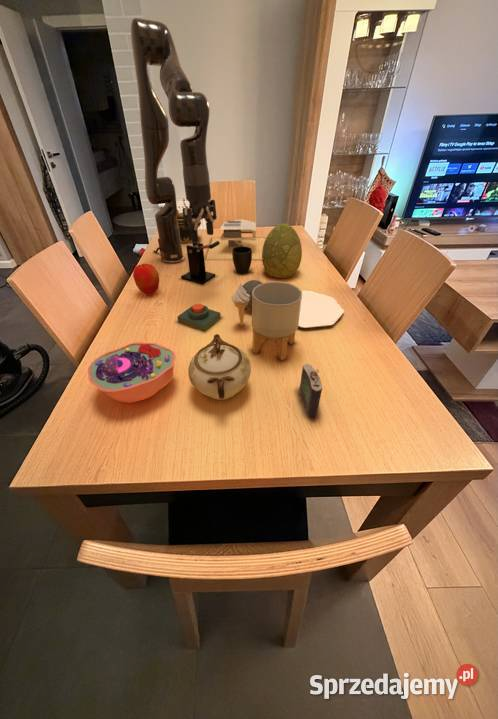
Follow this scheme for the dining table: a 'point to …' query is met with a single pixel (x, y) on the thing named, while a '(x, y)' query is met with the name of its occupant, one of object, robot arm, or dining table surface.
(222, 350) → the sugar bowl
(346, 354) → the dining table surface
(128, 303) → the dining table surface
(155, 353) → the cell model
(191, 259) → the bracket
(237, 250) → the mug
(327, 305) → the plate
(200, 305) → the button
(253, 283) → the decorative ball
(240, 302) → the ice cream cone
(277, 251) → the decorative sculpture
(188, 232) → the decorative box
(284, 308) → the planter
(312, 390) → the flask
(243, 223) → the house model
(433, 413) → the dining table surface
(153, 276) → the red mango
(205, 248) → the lever
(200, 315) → the button housing
